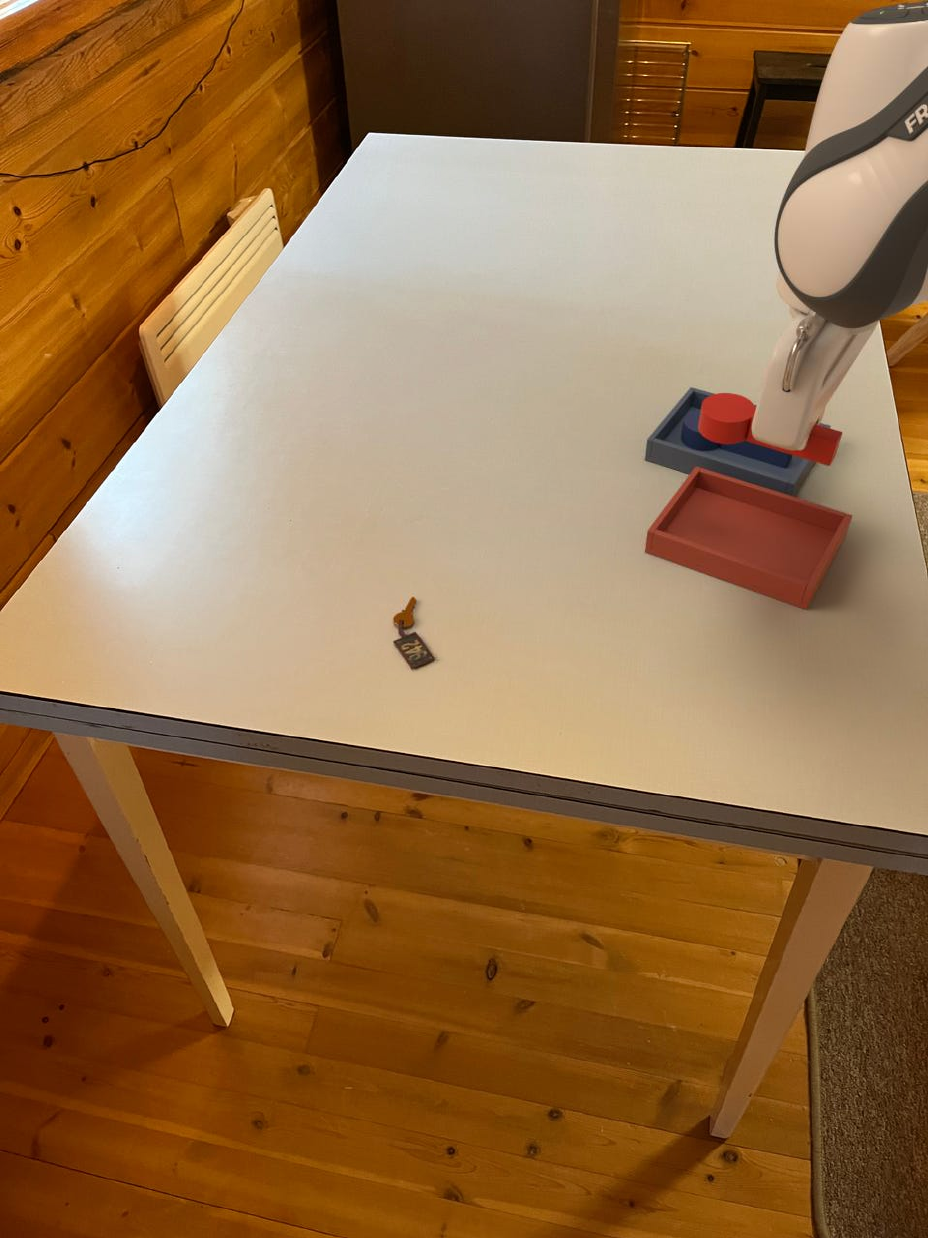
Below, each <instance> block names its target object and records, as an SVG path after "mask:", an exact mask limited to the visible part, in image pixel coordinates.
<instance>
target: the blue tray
mask: <svg viewBox="0 0 928 1238" xmlns="http://www.w3.org/2000/svg"><path fill="white" fill-rule="evenodd" d="M714 394H715V393H714V392H710V391H706V390H703V389H699V388H696V387H692V386H690V387H689V389H688V390H687V391H686V392H685V393H684V395H683V396H681V398H680V399H679V400H678V401H677V403H676V404H675V405H674V407H672V409H671V410H670V411H669V412H668V414H667V415H666V416H665V417H664V418H663V420H662V421H661V422H660V423H659V424H658V426H656V427H655V429H654V430H653V432H652V433H651V434H650V435H649V437H647V439H646V446H645V454H644V455H645V456H644V461H647V462H649V463H653V464H656V465H659V466H662V467H665V468H669V469H671V470H675V471H678V472H681V473H683V474H684V473H685V474H687V475H690V473H691V472H692V471H693V469H694V468H695V467H696V466H697V467H700V468H703V469H706V470H710V471H713V472H716V473H719V474H722V475H726V476H729V477H732V478H735V479H738V480H742V481H745V482H748V483H751V484H754V485H758V486H761V487H764V488H767V489H770V490H774V491H777V492H780V493H783V494H786V495H790V496H793V497H796V495H797V493H798V491H799V490H800V488H801V487H802V485H803V483H804V482H805V481H806V478H807V477H808V475H809V474H810V471H811V470H812V468H813V467H814V465H815V464H816V462H814V461H810V460H807V459H804V458H800V457H797V456H794V455H792V459H791V461H790V463H789V464H788V466H787V467H786V468H782V467H779V466H776V465H772V464H769V463H766V462H763V461H759V460H756V459H753V458H749V457H746V456H743V455H739V454H736V453H733V452H730V451H726V450H723V449H720V447H719V448H717V449H715V450H711V451H699V450H695V449H692V448H689V447H688V446H686V445H685V444H684V443H683V442H682V440H681V434H682V427H683V420H684V417H685V415H686V414H687V413H689V412H691V411H694V410H699V409H701V407H702V403H703V401H704V400H705V399H706V398H707V397H709V396H711V395H714ZM754 405H755V408H756V407H757V404H754ZM819 426H823V427H827V428H830V429H831V427H832V426H831V425H829V424H826V423H822V422H820V424H819Z"/></svg>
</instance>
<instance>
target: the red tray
mask: <svg viewBox="0 0 928 1238" xmlns="http://www.w3.org/2000/svg"><path fill="white" fill-rule="evenodd" d="M852 518H853V515H852V514H850V513H847V512H844V511H841V510H837V509H835V508H832V507H828V506H825V505H821V504H820V503H819V504H818V503H815V502H812V501H809V500H805V499H802V498H799V497H796V496H794V497H793V496H790V495H786V494H783V493H780V492H777V491H774V490H770V489H767V488H764V487H761V486H758V485H754V484H751V483H748V482H745V481H742V480H738V479H735V478H732V477H729V476H726V475H722V474H719V473H716V472H713V471H710V470H706V469H703V468H700V467H697V466H696V467H695V468H694V469H693V471H692V472H691V473H690V474H688V476H687V477H686V478H685V480H683V483H681V485H680V486H679V488H678V489H677V491H676V492H675V493H674V494H673V496H672V497H671V498H670V499H669V501H668V502H667V504H666V506H665V507H664V508H663V509H662V511H661V512H660V513H659V515H658V516H657V517H656V519H655V520H654V521H653V522H652V524H651V525H650V527H649V528H648V529H647V531H646V539H645V547H644V553H647V554H650V555H652V556H655V557H658V558H661V559H664V560H666V561H669V562H671V563H675V564H678V565H680V566H683V567H685V568H689V569H691V570H694V571H697V572H700V573H703V574H705V575H708V576H711V577H714V578H716V579H719V580H722V581H724V582H728V583H730V584H733V585H735V586H739V587H741V588H745V589H747V590H750V591H752V592H755V593H758V594H761V595H764V596H767V597H770V598H771V599H775V600H778V601H780V602H783V603H785V604H788V605H792V606H794V607H797V608H800V609H802V610H808V609H809V607H810V605H811V603H812V601H813V600H814V598H815V595H816V594H817V591H818V590H819V588H820V586H821V584H822V582H823V580H824V578H825V576H826V575H827V572H828V570H829V569H830V568H831V565H832V563H833V562H834V559H835V557H836V556H837V553H838V552H839V550H840V549H841V546H842V544H843V542H844V540H845V539H846V537H847V534H848V531H849V528H850V524H851V522H852Z"/></svg>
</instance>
